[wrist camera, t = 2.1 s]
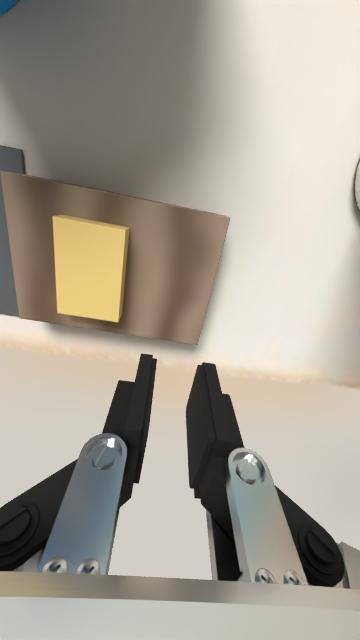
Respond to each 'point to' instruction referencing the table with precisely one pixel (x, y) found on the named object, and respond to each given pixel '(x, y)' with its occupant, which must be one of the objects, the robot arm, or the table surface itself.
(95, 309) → the yellow rectangular block
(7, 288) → the mat
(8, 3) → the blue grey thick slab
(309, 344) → the table surface
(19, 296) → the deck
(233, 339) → the table surface
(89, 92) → the table surface
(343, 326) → the table surface
